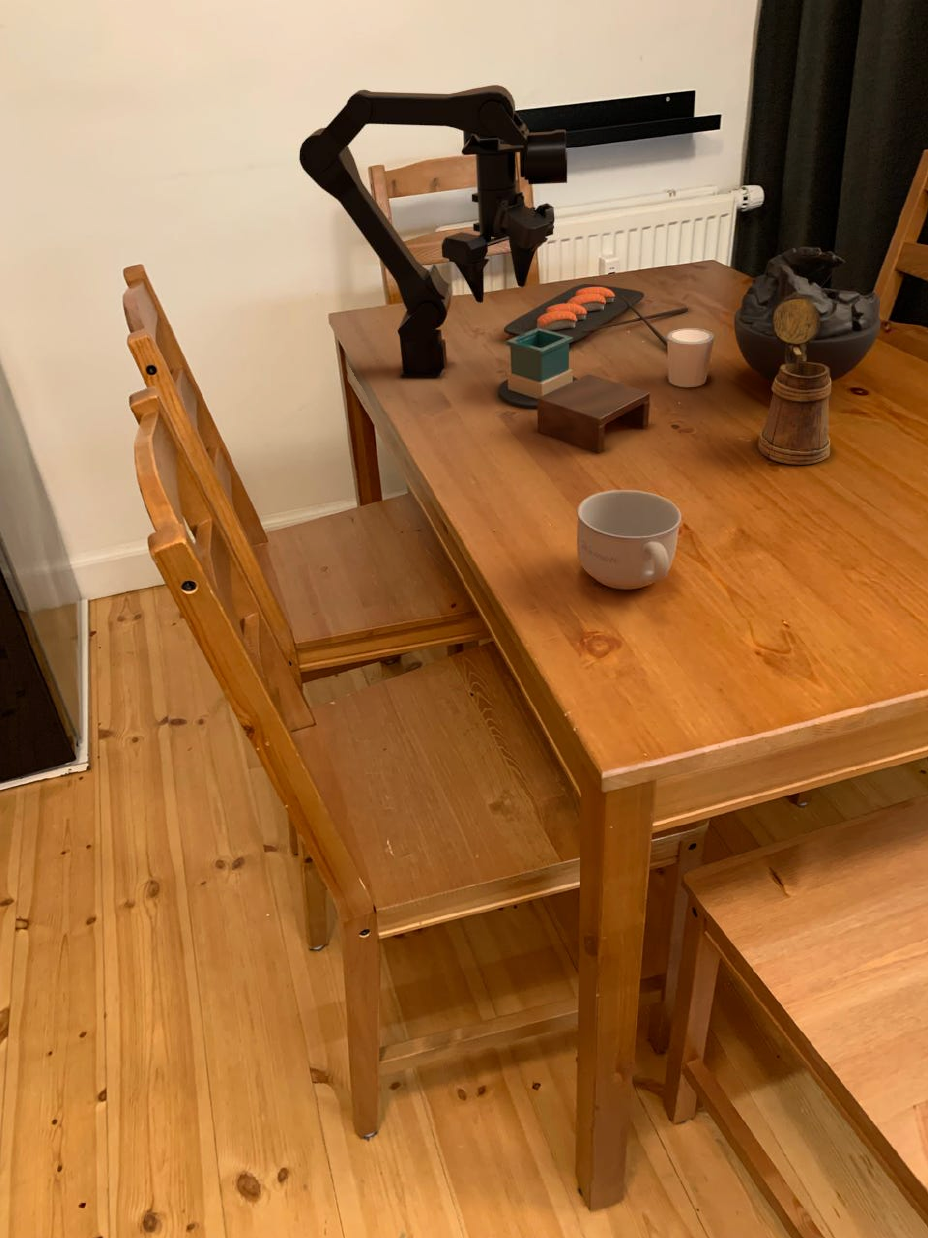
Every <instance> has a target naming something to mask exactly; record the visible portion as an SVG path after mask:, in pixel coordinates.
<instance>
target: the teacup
mask: <svg viewBox="0 0 928 1238" xmlns="http://www.w3.org/2000/svg"><path fill="white" fill-rule="evenodd" d="M576 515H577V526H576V527H577V528H576V529H577V531H576V536H577V537H576V551H577V557H578V561H579V563H580V565H581V567H582V568H583V570H584V571H585V572H586V573H587V574H588V575H589V576H591V577H592V578H594V579H595V580H596V581H597V582H599V583H600V584H602V585H603V586H606V587H608V588H611V589H617V590H636V589H642V588H644V587H647V586H650V585H652V584H653V583H659V582H661V581H663V580H665V579H666V578H667V576H668V574H669V570H670V569H671V567H672V564H673V563H674V558H675V554H676V550H677V544H678V537H679V530H680V525H681V523H682V519H683V517H682V513H681V510H680V509H679V507H678V506H677V505H676V504H675V503H673V502H672V501H670V500H669V499H667V498H665V497H663V496H661V495H658V494H654V493H651V492H649V491H642V490H634V489H611V490H605V491H601V492H597V493H594V494H591V495H590V496H588V497H586V498H584V499H583V500H582V501H581V502H580V503H579V505H578V507H577V510H576Z"/></svg>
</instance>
